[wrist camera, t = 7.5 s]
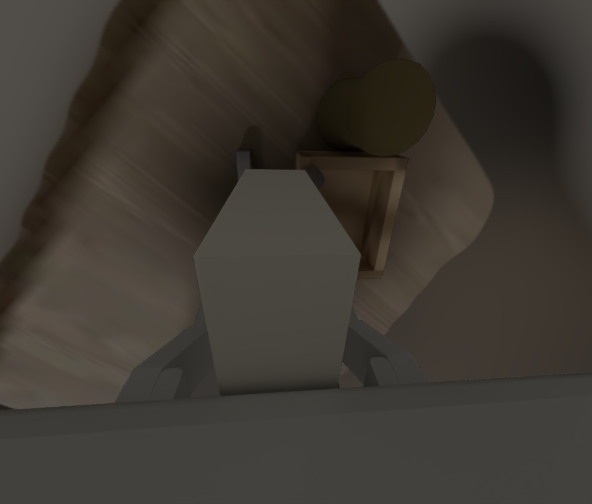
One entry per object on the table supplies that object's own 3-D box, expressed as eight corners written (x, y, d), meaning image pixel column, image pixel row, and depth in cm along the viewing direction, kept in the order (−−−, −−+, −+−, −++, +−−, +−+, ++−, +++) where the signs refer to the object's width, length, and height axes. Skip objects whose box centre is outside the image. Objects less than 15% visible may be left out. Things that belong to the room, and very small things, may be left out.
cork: (311, 87, 22) (343, 57, 12) (377, 70, 22) (461, 26, 12) (322, 156, 25) (354, 177, 15) (380, 142, 25) (451, 153, 15)
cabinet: (364, 254, 31) (389, 289, 24) (247, 256, 29) (240, 294, 23) (382, 151, 25) (421, 161, 18) (238, 149, 24) (225, 158, 17)
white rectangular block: (245, 169, 12) (192, 256, 4) (324, 170, 12) (412, 253, 5) (255, 319, 17) (239, 493, 9) (312, 317, 17) (345, 483, 9)
